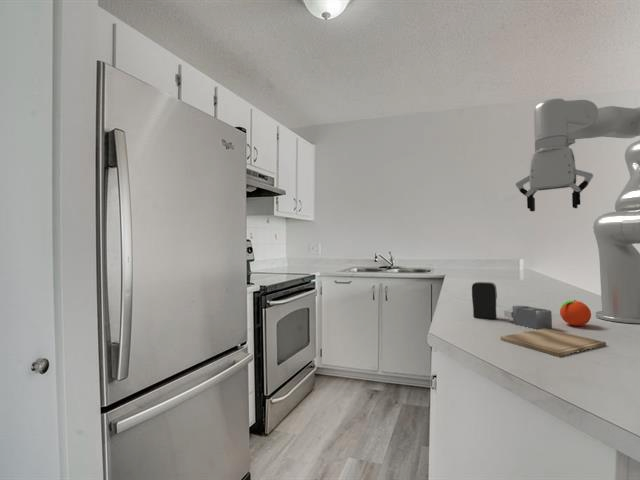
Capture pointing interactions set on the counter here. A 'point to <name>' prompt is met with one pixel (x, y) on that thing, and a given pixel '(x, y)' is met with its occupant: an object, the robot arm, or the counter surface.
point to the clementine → (575, 313)
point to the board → (553, 341)
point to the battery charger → (484, 300)
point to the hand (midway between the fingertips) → (552, 209)
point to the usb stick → (530, 317)
